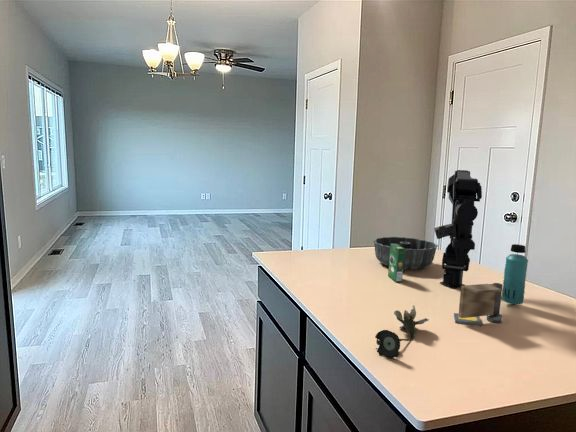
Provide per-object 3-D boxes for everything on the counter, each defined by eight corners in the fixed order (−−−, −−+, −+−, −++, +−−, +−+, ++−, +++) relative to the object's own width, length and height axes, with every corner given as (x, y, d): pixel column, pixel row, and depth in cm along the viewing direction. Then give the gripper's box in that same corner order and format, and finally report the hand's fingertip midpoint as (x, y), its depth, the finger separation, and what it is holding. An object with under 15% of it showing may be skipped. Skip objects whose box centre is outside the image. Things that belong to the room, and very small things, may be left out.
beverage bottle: (521, 303, 142) (528, 243, 139) (524, 310, 136) (532, 248, 132) (499, 300, 144) (505, 241, 141) (501, 307, 138) (508, 245, 134)
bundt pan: (386, 254, 204) (388, 233, 203) (443, 264, 189) (445, 241, 187) (361, 265, 183) (363, 242, 181) (423, 278, 168) (425, 252, 166)
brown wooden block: (495, 312, 128) (498, 280, 126) (512, 321, 121) (516, 288, 120) (456, 315, 124) (459, 283, 123) (473, 325, 118) (476, 291, 116)
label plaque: (479, 318, 128) (479, 315, 128) (481, 326, 122) (482, 323, 122) (453, 315, 130) (454, 312, 130) (455, 322, 124) (455, 320, 124)
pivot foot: (492, 317, 129) (493, 311, 129) (504, 321, 126) (505, 316, 126) (483, 319, 128) (483, 313, 127) (495, 324, 124) (496, 318, 124)
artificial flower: (366, 357, 105) (361, 315, 106) (408, 339, 122) (403, 303, 123) (400, 359, 99) (394, 315, 100) (438, 340, 116) (433, 302, 118)
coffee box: (402, 282, 161) (405, 248, 159) (395, 282, 160) (397, 248, 158) (394, 276, 169) (397, 243, 167) (387, 276, 168) (389, 243, 166)
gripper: (436, 212, 150) (432, 256, 152) (437, 220, 132) (433, 269, 135) (470, 214, 147) (466, 259, 149) (477, 222, 129) (472, 273, 132)
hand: (459, 264), depth 141 cm, fingers closed
